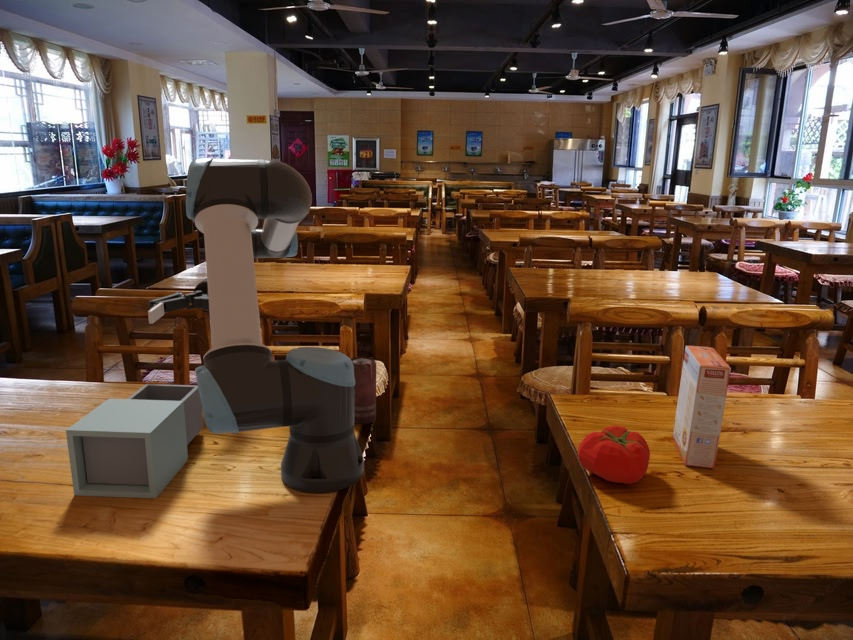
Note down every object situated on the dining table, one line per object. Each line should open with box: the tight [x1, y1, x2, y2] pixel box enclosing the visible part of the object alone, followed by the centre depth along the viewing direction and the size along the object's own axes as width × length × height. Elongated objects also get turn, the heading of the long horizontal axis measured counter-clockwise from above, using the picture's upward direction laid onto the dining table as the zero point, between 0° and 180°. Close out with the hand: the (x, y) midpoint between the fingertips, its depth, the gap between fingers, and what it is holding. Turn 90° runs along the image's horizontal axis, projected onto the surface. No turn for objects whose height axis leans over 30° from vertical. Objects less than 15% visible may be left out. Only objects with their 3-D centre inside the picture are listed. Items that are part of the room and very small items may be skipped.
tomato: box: [577, 425, 651, 485], centre depth 117 cm, size 14×13×9 cm
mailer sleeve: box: [65, 398, 189, 499], centre depth 113 cm, size 14×14×12 cm
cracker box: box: [672, 345, 732, 469], centre depth 127 cm, size 14×6×21 cm, turn 168°
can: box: [350, 356, 377, 426], centre depth 139 cm, size 6×6×14 cm
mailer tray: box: [82, 383, 204, 485], centre depth 119 cm, size 24×11×9 cm, turn 179°
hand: (182, 318), depth 134 cm, fingers open, 13 cm apart
